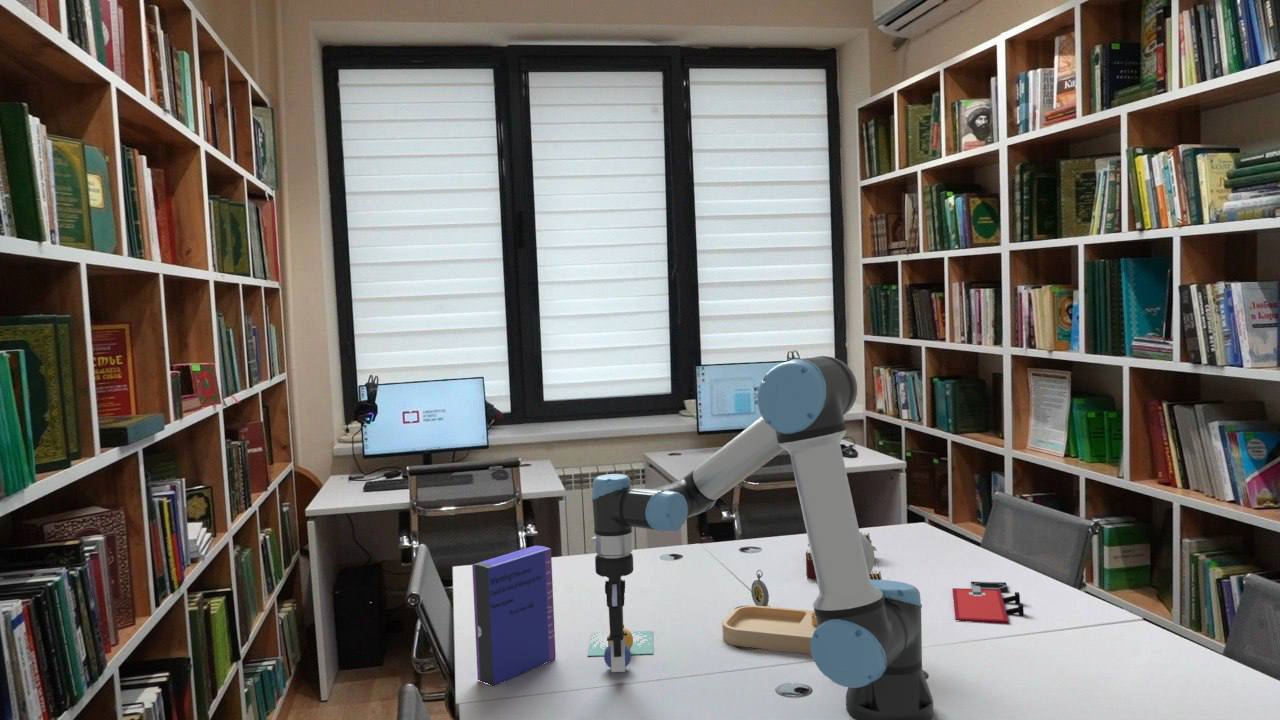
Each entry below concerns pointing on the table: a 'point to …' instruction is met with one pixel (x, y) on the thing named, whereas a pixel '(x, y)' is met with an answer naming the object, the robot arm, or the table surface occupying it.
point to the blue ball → (608, 655)
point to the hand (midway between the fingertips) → (618, 670)
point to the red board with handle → (984, 603)
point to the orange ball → (626, 639)
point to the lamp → (777, 622)
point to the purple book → (513, 614)
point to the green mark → (634, 649)
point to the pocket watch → (759, 592)
